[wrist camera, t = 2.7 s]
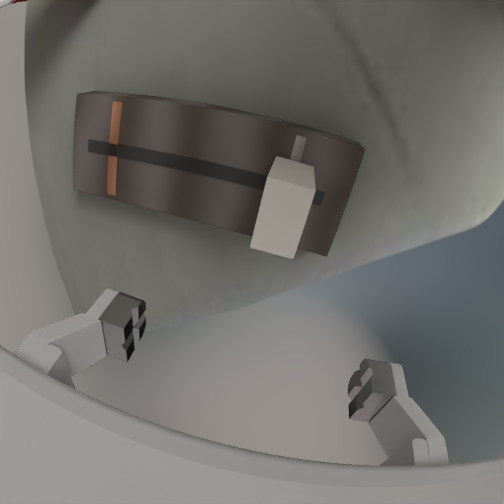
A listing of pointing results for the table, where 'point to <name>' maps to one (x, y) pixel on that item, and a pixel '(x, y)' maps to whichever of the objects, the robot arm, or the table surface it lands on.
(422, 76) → the table surface
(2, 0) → the plastic cup
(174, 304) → the table surface
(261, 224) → the fader tab
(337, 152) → the slider console
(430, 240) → the table surface
